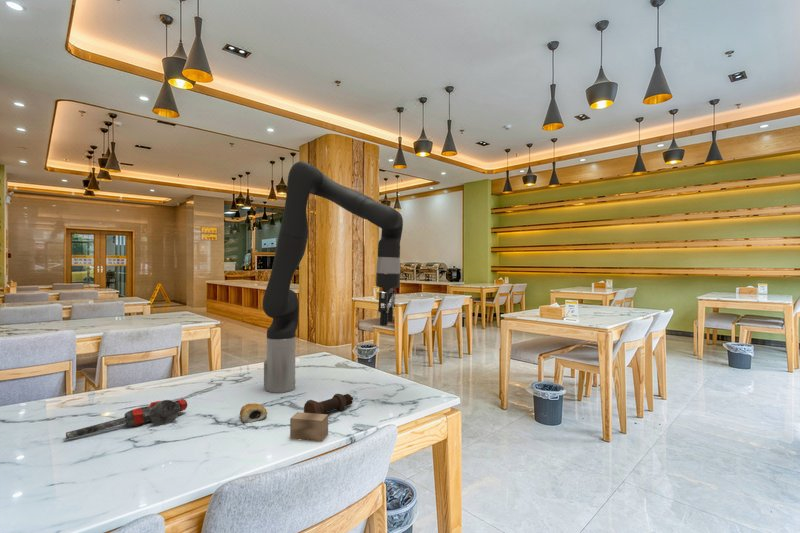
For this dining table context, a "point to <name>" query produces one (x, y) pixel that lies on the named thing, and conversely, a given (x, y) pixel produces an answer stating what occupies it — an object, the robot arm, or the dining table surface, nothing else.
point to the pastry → (252, 412)
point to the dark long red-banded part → (140, 417)
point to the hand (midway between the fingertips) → (386, 323)
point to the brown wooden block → (309, 426)
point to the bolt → (328, 404)
